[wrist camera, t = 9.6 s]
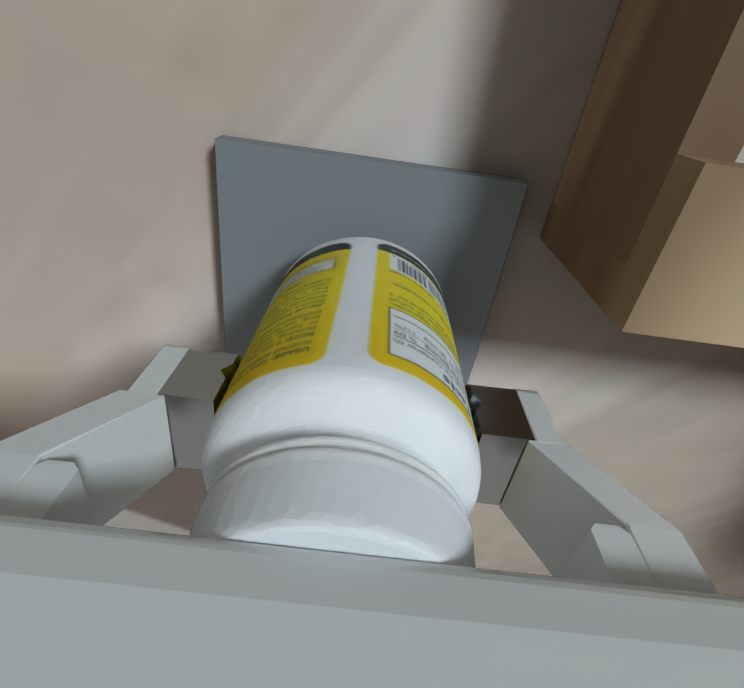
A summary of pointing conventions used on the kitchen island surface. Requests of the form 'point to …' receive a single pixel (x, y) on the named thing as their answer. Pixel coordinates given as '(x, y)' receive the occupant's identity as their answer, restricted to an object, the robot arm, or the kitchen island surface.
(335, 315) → the supplement bottle
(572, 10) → the kitchen island surface
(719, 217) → the crate
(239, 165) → the slate pad
